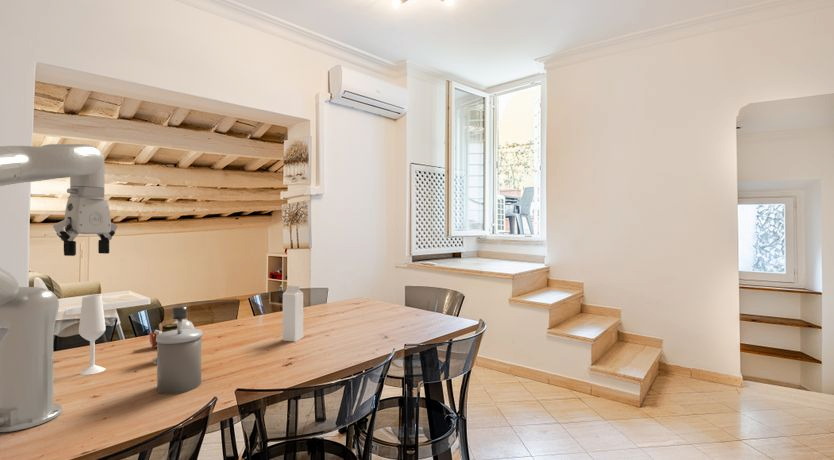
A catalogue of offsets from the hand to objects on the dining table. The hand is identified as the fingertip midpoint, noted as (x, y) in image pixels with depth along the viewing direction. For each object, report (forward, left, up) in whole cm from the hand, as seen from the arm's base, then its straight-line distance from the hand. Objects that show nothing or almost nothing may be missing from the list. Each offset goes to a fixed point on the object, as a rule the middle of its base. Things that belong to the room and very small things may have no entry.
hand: (87, 254), depth 113 cm
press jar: (+6, -24, -38) cm, 46 cm away
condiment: (+26, -3, -38) cm, 47 cm away
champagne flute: (+12, +12, -38) cm, 42 cm away
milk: (+57, -34, -38) cm, 77 cm away
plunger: (+6, -24, -23) cm, 34 cm away
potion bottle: (+42, +8, -38) cm, 57 cm away
